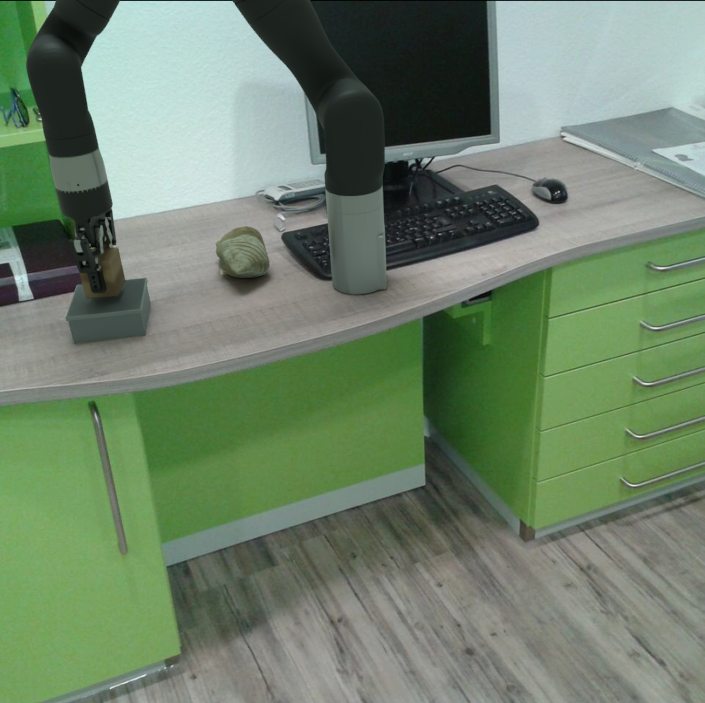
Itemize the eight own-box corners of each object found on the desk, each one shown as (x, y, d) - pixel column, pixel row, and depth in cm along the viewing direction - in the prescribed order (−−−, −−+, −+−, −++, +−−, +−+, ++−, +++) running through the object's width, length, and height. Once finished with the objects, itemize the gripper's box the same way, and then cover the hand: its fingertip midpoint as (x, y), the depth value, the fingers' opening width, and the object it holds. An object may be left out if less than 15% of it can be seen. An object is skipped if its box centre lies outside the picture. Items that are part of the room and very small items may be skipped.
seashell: (198, 235, 150) (229, 201, 144) (241, 251, 155) (272, 219, 150) (206, 297, 142) (239, 263, 136) (251, 311, 148) (284, 280, 142)
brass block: (125, 281, 133) (118, 247, 130) (116, 296, 129) (109, 260, 126) (95, 282, 133) (87, 248, 130) (85, 297, 129) (76, 261, 126)
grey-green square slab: (152, 304, 140) (146, 277, 137) (147, 337, 130) (141, 309, 127) (83, 311, 139) (76, 284, 136) (72, 345, 129) (65, 317, 126)
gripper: (90, 196, 115) (115, 304, 124) (119, 163, 128) (140, 264, 136) (38, 198, 116) (66, 306, 125) (72, 165, 128) (95, 265, 137)
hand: (104, 283), depth 131 cm, fingers closed on brass block, 5 cm apart
